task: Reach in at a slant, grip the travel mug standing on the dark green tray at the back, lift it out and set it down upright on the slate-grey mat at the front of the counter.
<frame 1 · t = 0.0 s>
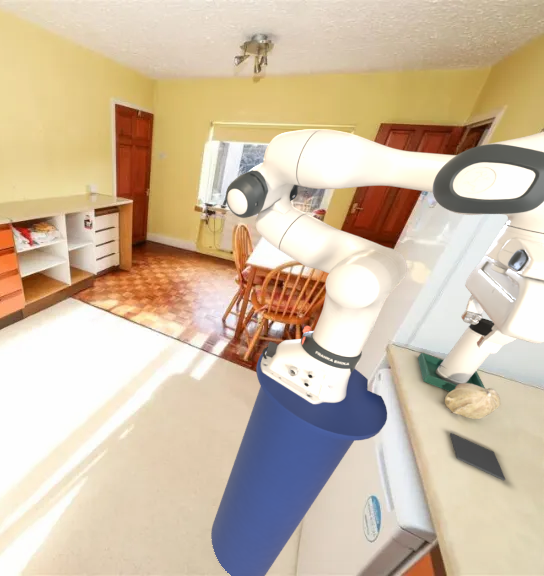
hand: (475, 334, 43), 31 cm above the countertop, tool pointing down, fingers open, 8 cm apart
garlic bulb: (458, 412, 68), on the countertop
mat: (474, 455, 58), on the countertop
travel mug: (448, 378, 78), resting on tray
tray: (447, 379, 78), on the countertop
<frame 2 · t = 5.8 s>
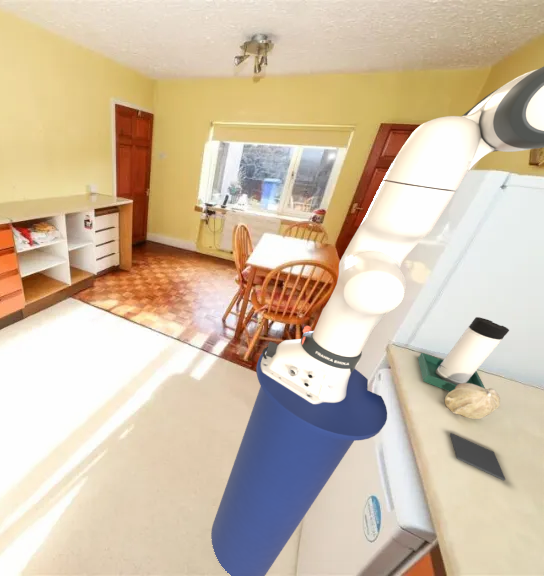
nothing on the countertop moved.
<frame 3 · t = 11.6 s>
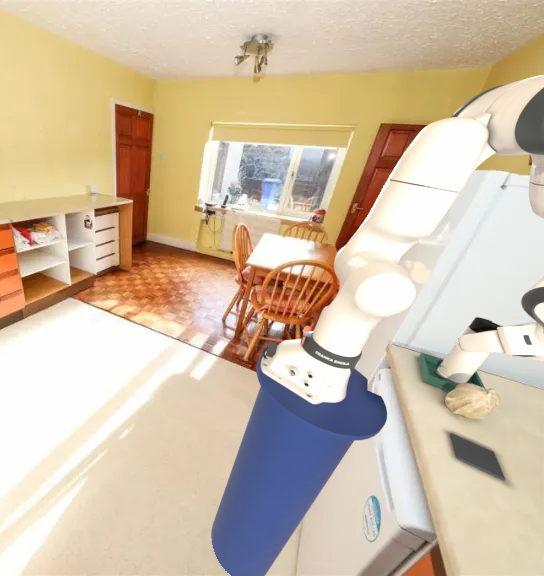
hand: (470, 346, 74), 12 cm above the countertop, tool tilted 45°, fingers closed on travel mug, 6 cm apart
travel mug: (448, 378, 78), resting on tray, touching gripper
everything else where it was.
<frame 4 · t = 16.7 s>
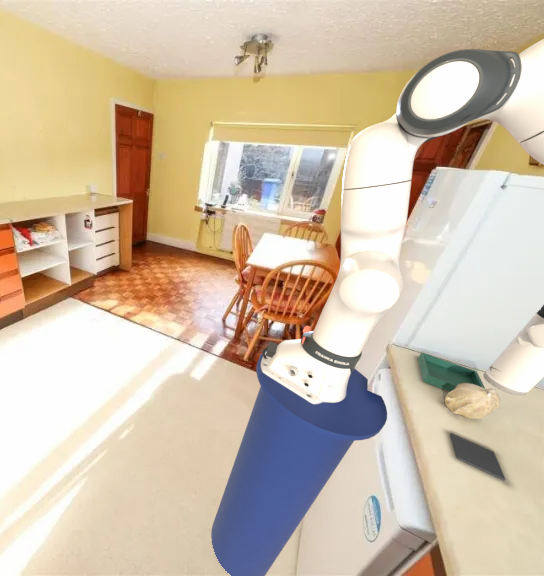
hand: (537, 341, 53), 25 cm above the countertop, tool tilted 45°, fingers closed on travel mug, 6 cm apart
travel mug: (502, 385, 58), point 14 cm above the countertop, touching gripper
everything else where it was.
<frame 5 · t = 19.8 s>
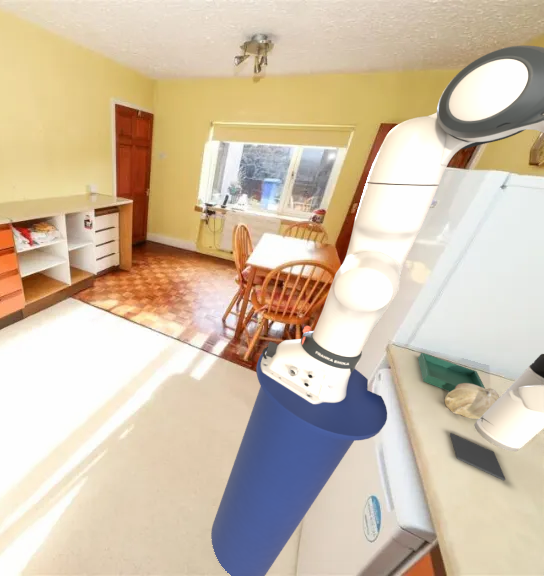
hand: (530, 395, 50), 18 cm above the countertop, tool tilted 45°, fingers closed on travel mug, 6 cm apart
travel mug: (494, 437, 55), point 6 cm above the countertop, touching gripper
everything else where it was.
when the fingers open (12 cm above the countertop, at t = 22.1 s): travel mug stays where it is, resting on mat.
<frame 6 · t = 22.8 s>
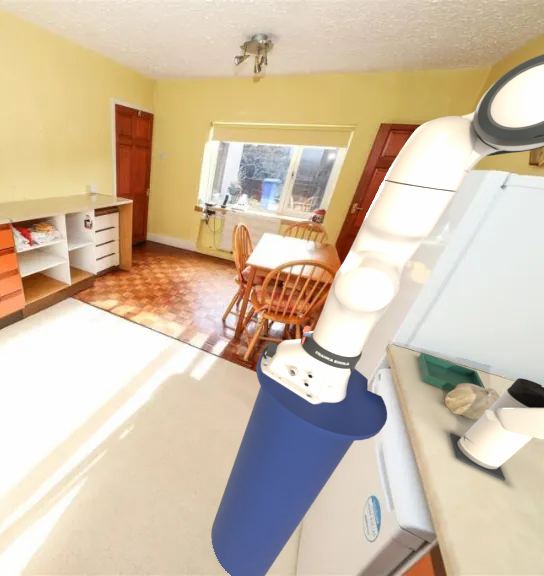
hand: (510, 414, 53), 13 cm above the countertop, tool tilted 45°, fingers open, 8 cm apart
travel mug: (475, 455, 58), resting on mat
everything else where it was.
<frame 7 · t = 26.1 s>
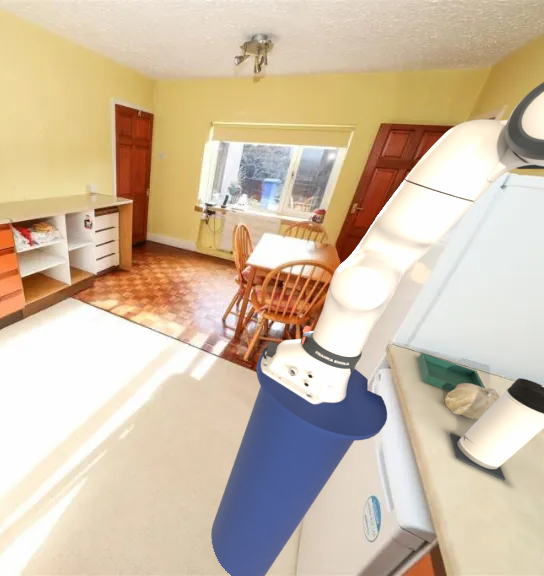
nothing on the countertop moved.
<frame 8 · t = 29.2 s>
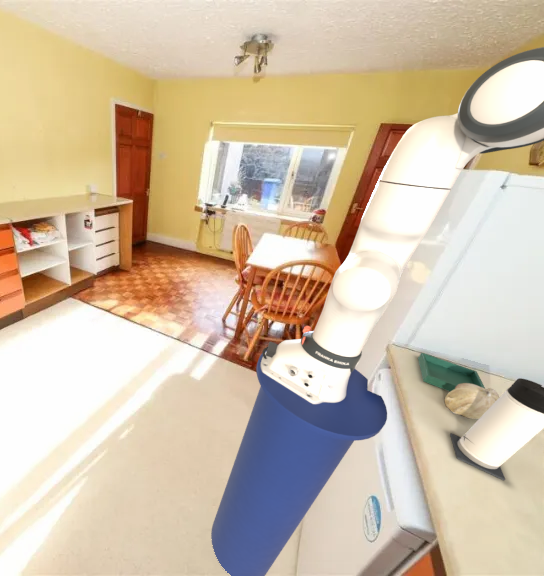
nothing on the countertop moved.
at the end: travel mug 0.1 cm off-centre on the mat, point 0.3 cm above the mat's base; travel mug tilted 0°; travel mug touching mat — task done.
